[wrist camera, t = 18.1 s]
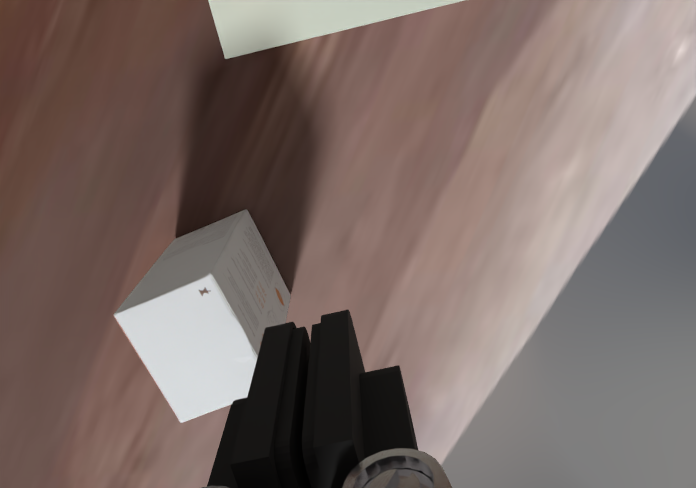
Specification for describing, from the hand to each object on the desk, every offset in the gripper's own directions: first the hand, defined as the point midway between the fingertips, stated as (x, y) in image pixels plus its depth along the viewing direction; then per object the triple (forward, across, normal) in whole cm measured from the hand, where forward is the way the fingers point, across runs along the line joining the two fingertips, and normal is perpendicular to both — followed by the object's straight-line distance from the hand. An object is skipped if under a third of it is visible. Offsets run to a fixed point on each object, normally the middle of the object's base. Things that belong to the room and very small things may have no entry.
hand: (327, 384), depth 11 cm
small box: (+32, +10, +8) cm, 35 cm away
